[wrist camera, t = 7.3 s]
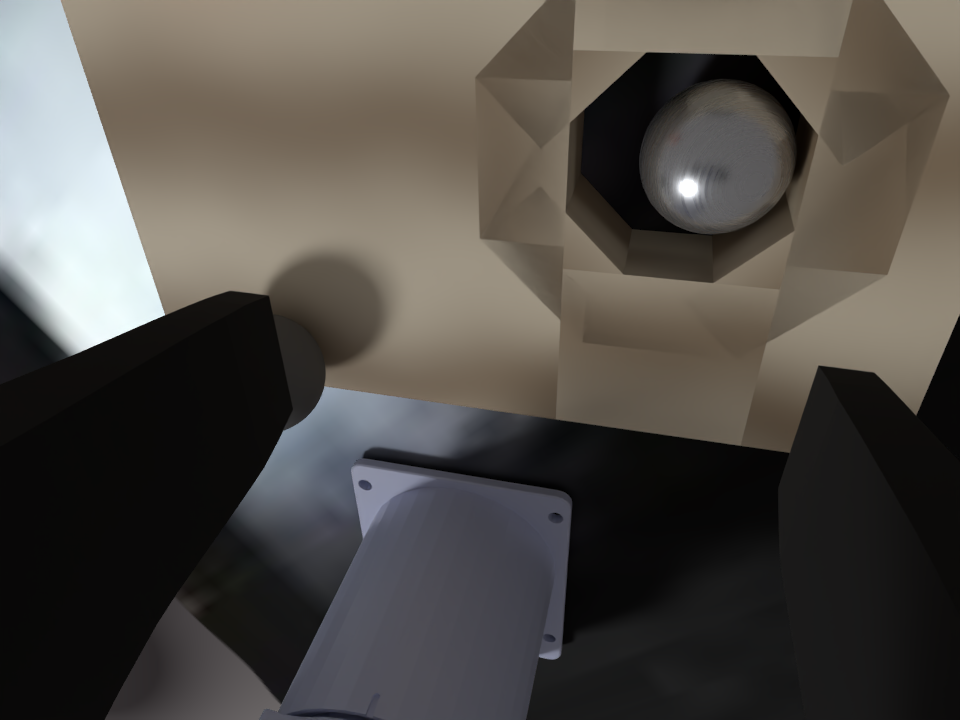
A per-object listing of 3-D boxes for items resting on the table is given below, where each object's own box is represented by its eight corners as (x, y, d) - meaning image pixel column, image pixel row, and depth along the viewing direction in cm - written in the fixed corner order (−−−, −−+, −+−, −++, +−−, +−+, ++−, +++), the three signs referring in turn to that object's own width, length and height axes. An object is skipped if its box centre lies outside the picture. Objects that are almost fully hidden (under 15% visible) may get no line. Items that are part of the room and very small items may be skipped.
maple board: (874, 405, 19) (893, 467, 17) (225, 323, 24) (182, 365, 22) (1135, -278, 11) (1226, -306, 9) (77, -212, 16) (-13, -222, 14)
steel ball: (733, 195, 18) (808, 249, 15) (611, 208, 17) (667, 267, 15) (759, 58, 16) (849, 94, 13) (623, 69, 15) (690, 108, 13)
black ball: (351, 392, 21) (302, 468, 18) (253, 378, 21) (192, 449, 19) (335, 297, 19) (278, 366, 16) (228, 285, 19) (157, 349, 17)
